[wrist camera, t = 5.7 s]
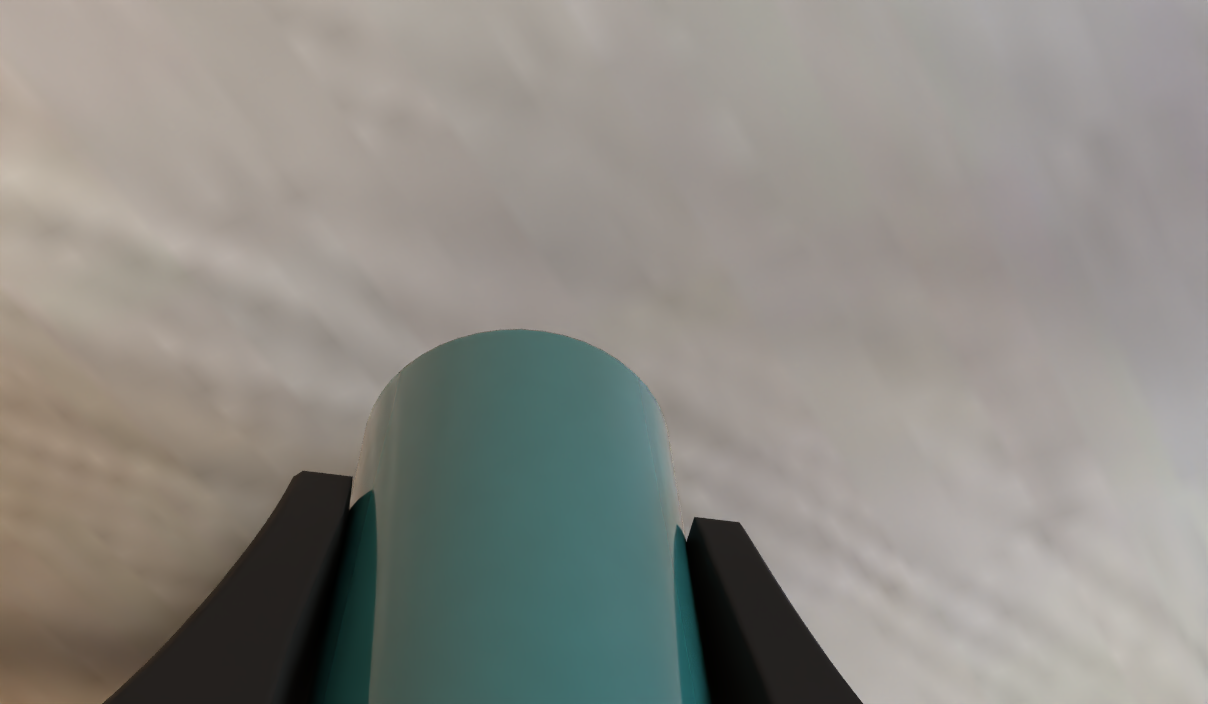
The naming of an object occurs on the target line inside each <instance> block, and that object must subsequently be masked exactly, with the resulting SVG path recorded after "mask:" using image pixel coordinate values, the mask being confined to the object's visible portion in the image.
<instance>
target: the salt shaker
mask: <svg viewBox="0 0 1208 704" xmlns="http://www.w3.org/2000/svg"><path fill="white" fill-rule="evenodd" d="M306 704H713V703H712V697H711V691H710V684H709V678H708V672H707V666H706V660H705V654H704V648H703V642H702V636H701V629H700V623H699V617H698V611H697V605H696V599H695V593H694V587H693V581H692V574H691V568H690V562H689V556H688V550H687V544H686V538H685V532H684V526H683V519H682V513H681V507H680V501H679V495H678V489H677V483H676V477H675V470H674V464H673V458H672V452H671V446H670V440H669V434H668V429H667V426H666V422H665V419H664V416H663V413H662V411H661V409H660V407H659V405H658V403H657V401H656V399H655V398H654V396H653V395H652V394H651V392H650V391H649V389H648V388H647V386H646V385H645V384H644V383H643V382H642V381H641V380H640V379H639V378H638V377H637V376H636V374H635V373H634V372H632V371H631V370H630V369H629V368H628V367H626V366H625V365H624V364H623V363H621V362H620V361H619V360H618V359H616V358H614V357H613V356H611V355H609V354H608V353H606V352H605V351H603V350H601V349H599V348H597V347H595V346H592V345H590V344H588V343H586V342H584V341H581V340H578V339H575V338H571V337H568V336H565V335H561V334H556V333H551V332H546V331H538V330H526V329H506V330H494V331H487V332H480V333H476V334H472V335H468V336H464V337H460V338H457V339H455V340H452V341H449V342H447V343H444V344H442V345H439V346H437V347H435V348H434V349H432V350H430V351H428V352H426V353H424V354H422V355H421V356H420V357H418V358H417V359H415V360H414V361H413V362H411V363H410V364H408V365H407V366H406V367H404V368H403V369H402V370H401V371H400V372H399V373H398V374H397V375H396V376H395V377H394V378H393V379H392V380H391V381H390V382H389V384H388V385H387V386H386V387H385V389H384V390H383V391H382V392H381V394H380V396H379V397H378V399H377V401H376V403H375V404H374V406H373V408H372V410H371V413H370V416H369V418H368V421H367V424H366V428H365V433H364V437H363V442H362V447H361V451H360V456H359V461H358V465H357V470H356V475H355V479H354V484H353V489H352V493H351V498H350V508H349V514H348V519H347V524H346V528H345V533H344V538H343V542H342V547H341V552H340V556H339V561H338V566H337V570H336V574H335V578H334V581H333V585H332V589H331V593H330V596H329V600H328V605H327V610H326V614H325V619H324V624H323V628H322V633H321V638H320V642H319V647H318V651H317V656H316V661H315V665H314V670H313V675H312V679H311V684H310V689H309V693H308V698H307V703H306Z"/></svg>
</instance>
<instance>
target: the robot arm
mask: <svg viewBox="0 0 1208 704" xmlns="http://www.w3.org/2000/svg"><path fill="white" fill-rule="evenodd" d="M352 478H353V477H351V476H343V475H334V474H326V473H317V472H309V471H302V472H300V473H299V474H297V475H296V476H294V477H293V478H292V480H291V482H290V484H289V486H288V488H287V490H286V492H285V493H284V495H283V497H282V498H281V500H280V501H279V503H278V505H277V506H276V508H275V509H274V511H273V512H272V514H271V515H270V517H269V518H268V520H267V521H266V523H265V524H264V526H263V527H262V528H261V530H260V531H259V533H258V534H257V536H256V537H255V538H254V540H253V541H252V543H251V544H250V545H249V547H248V548H247V549H246V550H245V552H244V553H243V554H242V555H241V557H240V558H239V559H238V561H237V562H236V563H235V564H234V566H233V567H232V568H231V569H230V571H229V572H228V573H227V575H226V576H225V577H224V578H223V580H222V581H221V582H220V583H219V585H218V586H217V587H216V588H215V589H214V591H213V592H212V593H211V594H210V595H209V596H208V597H207V599H206V600H205V601H204V602H203V603H202V604H201V605H200V606H199V608H198V609H197V610H196V611H195V612H194V613H193V614H192V615H191V616H190V618H189V619H188V620H187V621H186V622H185V623H184V624H183V625H182V627H181V628H180V629H179V630H178V631H177V632H176V633H175V634H174V635H173V636H172V637H171V639H170V640H169V641H168V642H167V643H166V644H165V645H164V646H163V647H162V648H161V649H160V650H159V651H158V652H157V653H156V654H155V655H154V656H153V657H152V658H151V659H150V660H149V661H148V662H147V663H146V664H145V665H144V666H143V667H142V668H141V669H140V670H139V671H138V672H136V673H135V674H134V675H133V676H132V677H131V678H130V679H129V680H128V681H127V682H126V683H125V684H124V685H123V686H122V687H121V688H120V689H118V690H117V691H116V692H115V693H114V694H113V695H112V696H111V697H110V698H108V699H107V700H106V701H105V702H104V703H103V704H306V703H307V698H308V693H309V689H310V684H311V679H312V675H313V670H314V665H315V661H316V656H317V651H318V647H319V642H320V638H321V633H322V628H323V624H324V619H325V614H326V610H327V605H328V600H329V596H330V593H331V589H332V585H333V581H334V578H335V574H336V570H337V566H338V561H339V556H340V552H341V547H342V542H343V538H344V533H345V528H346V524H347V519H348V514H349V508H350V498H351V488H352ZM686 544H687V550H688V556H689V562H690V568H691V574H692V581H693V587H694V593H695V599H696V605H697V611H698V617H699V623H700V629H701V636H702V642H703V648H704V654H705V660H706V666H707V672H708V678H709V684H710V691H711V697H712V703H713V704H863V703H862V702H861V700H860V699H859V698H858V697H857V695H856V694H855V693H854V691H853V690H852V689H851V688H850V686H849V685H848V684H847V682H846V681H845V680H844V679H843V677H842V676H841V675H840V673H839V672H838V670H837V669H836V668H835V666H834V665H833V664H832V662H831V661H830V660H829V658H828V657H827V655H826V654H825V653H824V651H823V650H822V648H821V647H820V645H819V644H818V642H817V641H816V640H815V638H814V637H813V635H812V634H811V632H810V631H809V629H808V628H807V627H806V625H805V624H804V622H803V621H802V619H801V618H800V616H799V615H798V613H797V612H796V610H795V609H794V607H793V606H792V604H791V603H790V601H789V600H788V598H787V597H786V595H785V593H784V592H783V590H782V589H781V587H780V586H779V584H778V582H777V581H776V579H775V578H774V576H773V575H772V573H771V571H770V570H769V568H768V567H767V565H766V563H765V562H764V560H763V559H762V557H761V555H760V554H759V552H758V550H757V549H756V547H755V546H754V544H753V542H752V541H751V539H750V538H749V536H748V534H747V533H746V531H745V530H744V528H743V527H742V525H741V524H740V523H739V522H732V521H723V520H715V519H706V518H698V517H694V520H693V523H692V526H691V529H690V533H689V536H688V539H687V542H686Z"/></svg>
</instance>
